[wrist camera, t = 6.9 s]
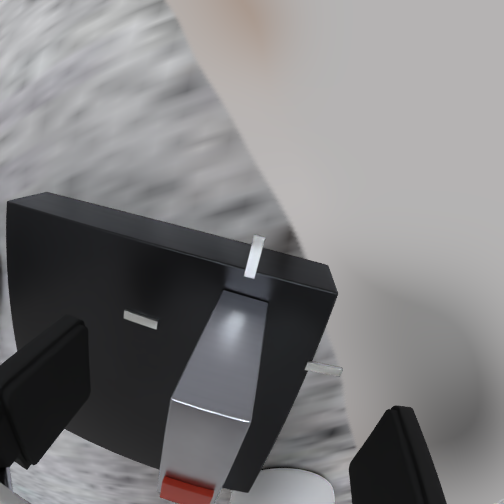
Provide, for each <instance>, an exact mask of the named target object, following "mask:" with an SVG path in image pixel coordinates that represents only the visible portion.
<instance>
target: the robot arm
mask: <svg viewBox="0 0 504 504" xmlns="http://www.w3.org/2000/svg"><path fill="white" fill-rule="evenodd" d="M90 393H91V383H90V367H89V342H88V328H87V327H85V323H84V321H83V320H81V319H78V318H76V317H74V316H71V315H69V314H66V315H64V316H63V317H61V318H60V319H59V320H57V321H56V322H55V323H54V324H52V325H51V326H50V327H48V328H47V329H46V330H44V331H43V332H42V333H40V334H39V335H38V336H37V337H35V338H34V339H33V340H31V341H30V342H29V343H28V344H26V345H25V346H24V347H22V348H21V349H20V350H19V351H17V352H16V353H15V354H14V355H12V356H11V357H10V358H9V359H7V360H6V361H5V362H4V363H2V364H1V365H0V504H31V503H29V502H28V501H26V500H25V499H23V498H22V497H20V496H19V495H17V494H16V493H14V492H13V487H12V480H11V473H10V466H11V465H12V463H13V462H14V461H15V462H16V463H18V464H19V465H21V466H22V467H23V468H25V469H26V470H27V469H28V468H29V466H30V465H31V464H32V465H35V464H37V463H38V462H39V460H40V459H41V458H42V457H43V455H44V454H45V453H46V451H47V450H48V449H49V448H50V446H51V445H52V444H53V442H54V441H55V440H56V439H57V437H58V436H59V435H60V433H61V432H62V431H63V430H64V428H65V427H66V426H67V425H68V423H69V422H70V421H71V420H72V418H73V417H74V416H75V414H76V413H77V412H78V411H79V409H80V408H81V407H82V406H83V404H84V403H85V402H86V401H87V399H88V398H89V396H90ZM349 476H350V485H351V495H352V504H447V503H446V500H445V497H444V494H443V491H442V487H441V484H440V481H439V478H438V475H437V472H436V470H435V467H434V464H433V461H432V458H431V455H430V453H429V450H428V447H427V444H426V442H425V439H424V436H423V434H422V431H421V429H420V426H419V423H418V421H417V418H416V416H415V413H414V411H413V409H412V408H411V407H404V406H393V407H392V408H391V409H388V410H386V412H385V413H384V415H383V416H382V418H381V419H380V421H379V422H378V424H377V425H376V427H375V428H374V430H373V431H372V433H371V434H370V436H369V437H368V439H367V440H366V442H365V443H364V445H363V446H362V448H361V449H360V450H359V451H358V453H357V454H356V455H355V457H354V458H353V460H352V461H351V463H350V466H349Z"/></svg>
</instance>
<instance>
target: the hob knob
mask: <svg viewBox="0 0 504 504" xmlns="http://www.w3.org/2000/svg"><path fill="white" fill-rule="evenodd" d="M268 305H269V304H268V303H266V302H263V301H259V300H256V299H252V298H249V297H246V296H242V295H239V294H235V293H232V292H228V291H225V290H223V291H222V292H221V294H220V296H219V299H218V301H217V303H216V305H215V307H214V309H213V311H212V313H211V315H210V317H209V319H208V321H207V323H206V325H205V327H204V329H203V331H202V333H201V336H200V338H199V340H198V342H197V344H196V346H195V348H194V350H193V352H192V354H191V356H190V358H189V360H188V362H187V364H186V367H185V369H184V371H183V373H182V375H181V377H180V379H179V381H178V383H177V385H176V387H175V389H174V392H173V394H172V396H171V398H170V403H169V409H168V415H167V422H166V428H165V435H164V442H163V449H162V456H161V463H160V471H159V478H158V486H157V492H159V493H160V497H161V498H163V499H166V500H169V501H173V502H176V503H179V504H214V503H215V501H216V499H217V497H218V495H219V493H220V491H221V489H222V487H223V484H224V482H225V480H226V478H227V476H228V474H229V471H230V469H231V467H232V465H233V463H234V460H235V458H236V456H237V454H238V451H239V449H240V447H241V445H242V442H243V440H244V438H245V435H246V433H247V431H248V428H249V426H250V424H251V420H252V413H253V407H254V401H255V394H256V388H257V381H258V375H259V368H260V361H261V354H262V348H263V341H264V334H265V327H266V320H267V313H268Z"/></svg>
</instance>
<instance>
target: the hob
mask: <svg viewBox="0 0 504 504" xmlns="http://www.w3.org/2000/svg"><path fill="white" fill-rule="evenodd" d="M264 241H265V237H264V236H260V235H256V234H254V237H253V241H252V245H250V244H246V243H243V242H239V241H235V240H231V239H227V238H224V237H220V236H216V235H212V234H208V233H204V232H201V231H197V230H193V229H189V228H185V227H181V226H178V225H174V224H170V223H166V222H162V221H158V220H154V219H151V218H147V217H143V216H139V215H135V214H131V213H127V212H123V211H119V210H116V209H112V208H108V207H104V206H100V205H96V204H92V203H88V202H84V201H80V200H76V199H72V198H69V197H65V196H61V195H57V194H53V193H49V192H45V193H40V194H36V195H31V196H27V197H23V198H18V199H14V200H10V201H7V215H6V249H7V272H8V286H9V296H10V306H11V314H12V321H13V328H14V335H15V341H16V346H17V351H19V350H20V349H21V348H22V347H24V346H25V345H26V344H28V343H29V342H30V341H31V340H33V339H34V338H35V337H37V336H38V335H39V334H40V333H42V332H43V331H44V330H46V329H47V328H48V327H50V326H51V325H52V324H54V323H55V322H56V321H57V320H59V319H60V318H61V317H63V316H64V315H66V314H69V315H71V316H74V317H76V318H78V319H81V320H83V321H84V323H85V327H87V328H88V342H89V367H90V383H91V393H90V396H89V398H88V399H87V401H86V402H85V403H84V404H83V406H82V407H81V408H80V409H79V411H78V412H77V413H76V414H75V416H74V417H73V418H72V420H71V421H70V422H69V423H68V425H67V426H66V427H65V428H64V429H66V430H68V431H70V432H72V433H74V434H76V435H78V436H80V437H82V438H84V439H86V440H88V441H90V442H92V443H94V444H96V445H99V446H101V447H103V448H105V449H108V450H110V451H112V452H114V453H117V454H119V455H122V456H124V457H127V458H129V459H132V460H134V461H137V462H140V463H142V464H145V465H148V466H150V467H153V468H156V469H159V470H160V463H161V456H162V449H163V442H164V435H165V428H166V422H167V415H168V409H169V403H170V398H171V396H172V394H173V392H174V389H175V387H176V385H177V383H178V381H179V379H180V377H181V375H182V373H183V371H184V369H185V367H186V364H187V362H188V360H189V358H190V356H191V354H192V352H193V350H194V348H195V346H196V344H197V342H198V340H199V338H200V336H201V333H202V331H203V329H204V327H205V325H206V323H207V321H208V319H209V317H210V315H211V313H212V311H213V309H214V307H215V305H216V303H217V301H218V299H219V296H220V294H221V292H222V291H223V290H225V291H228V292H232V293H235V294H239V295H242V296H246V297H249V298H252V299H256V300H259V301H263V302H266V303H268V304H269V305H268V313H267V320H266V327H265V334H264V341H263V348H262V354H261V361H260V368H259V375H258V381H257V388H256V394H255V401H254V407H253V413H252V420H251V424H250V426H249V428H248V431H247V433H246V435H245V438H244V440H243V442H242V445H241V447H240V449H239V451H238V454H237V456H236V458H235V460H234V463H233V465H232V467H231V469H230V471H229V474H228V476H227V478H226V480H225V482H224V484H223V487H222V488H226V489H230V490H235V491H240V492H245V493H249V491H250V489H251V488H252V486H253V484H254V482H255V480H256V478H257V476H258V475H259V473H260V471H261V469H262V467H263V465H264V463H265V461H266V459H267V457H268V455H269V453H270V451H271V449H272V447H273V445H274V443H275V441H276V439H277V437H278V435H279V433H280V431H281V429H282V427H283V425H284V423H285V421H286V419H287V416H288V414H289V412H290V410H291V408H292V406H293V403H294V401H295V399H296V397H297V395H298V392H299V390H300V388H301V386H302V383H303V381H304V379H305V376H306V374H307V372H308V371H312V372H317V373H322V374H327V375H332V376H337V377H340V375H341V373H342V371H343V368H342V367H337V366H332V365H327V364H323V363H318V362H313V361H312V360H313V357H314V355H315V353H316V350H317V348H318V345H319V343H320V340H321V338H322V335H323V333H324V330H325V328H326V325H327V322H328V320H329V317H330V314H331V312H332V309H333V307H334V304H335V301H336V298H337V296H338V292H337V289H336V286H335V283H334V280H333V278H332V275H331V272H330V269H329V267H328V265H325V264H322V263H318V262H314V261H310V260H307V259H303V258H299V257H295V256H292V255H288V254H284V253H280V252H277V251H273V250H269V249H265V248H263V245H264Z"/></svg>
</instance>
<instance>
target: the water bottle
mask: <svg viewBox="0 0 504 504" xmlns="http://www.w3.org/2000/svg"><path fill="white" fill-rule="evenodd" d="M230 504H335V495H334V490H333V487H332V485H331V484H330V483H329V482H328V481H327V480H326V479H325V478H323V477H321V476H320V475H317V474H315V473H312V472H309V471H305V470H300V469H293V468H274V469H266V470H261V471H260V473H259V475H258V476H257V478H256V480H255V482H254V484H253V486H252V488H251V489H250V491H249V493H245V492H240V491H235V490H232V494H231V498H230Z"/></svg>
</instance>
